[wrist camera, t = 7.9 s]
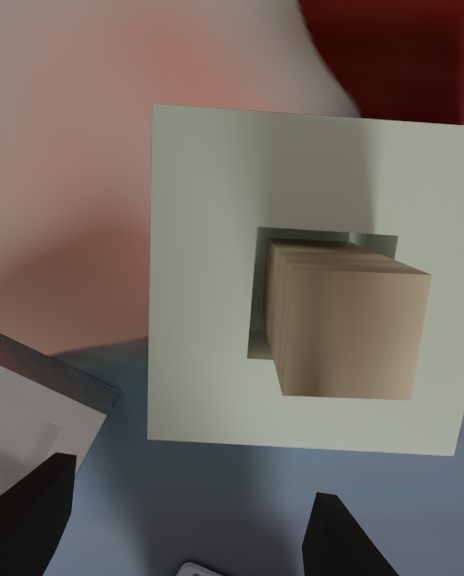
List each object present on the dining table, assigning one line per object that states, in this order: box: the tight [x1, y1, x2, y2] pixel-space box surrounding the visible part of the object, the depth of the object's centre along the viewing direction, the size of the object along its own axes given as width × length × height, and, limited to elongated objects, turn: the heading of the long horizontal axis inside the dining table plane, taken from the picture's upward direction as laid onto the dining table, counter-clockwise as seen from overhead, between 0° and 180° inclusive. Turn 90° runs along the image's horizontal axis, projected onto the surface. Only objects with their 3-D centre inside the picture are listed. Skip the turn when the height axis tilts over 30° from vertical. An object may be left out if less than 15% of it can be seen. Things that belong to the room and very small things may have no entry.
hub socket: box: [147, 104, 464, 456], centre depth 18 cm, size 14×14×4 cm
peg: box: [262, 238, 432, 401], centre depth 16 cm, size 4×4×8 cm
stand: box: [0, 334, 120, 495], centre depth 21 cm, size 9×9×2 cm
